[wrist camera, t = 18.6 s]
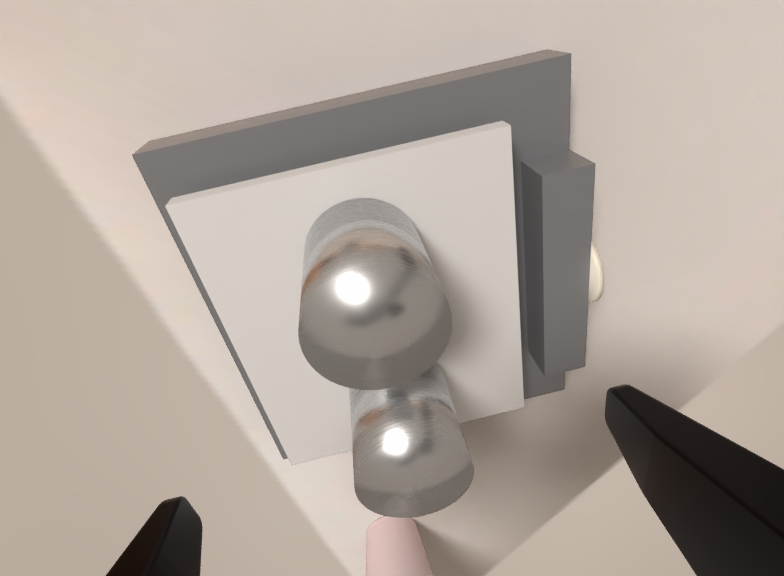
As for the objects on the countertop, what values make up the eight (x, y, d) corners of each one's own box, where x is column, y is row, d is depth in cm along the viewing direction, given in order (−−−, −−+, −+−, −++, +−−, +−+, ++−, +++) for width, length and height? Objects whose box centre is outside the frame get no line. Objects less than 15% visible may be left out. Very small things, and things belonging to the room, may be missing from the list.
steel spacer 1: (409, 184, 16) (440, 246, 12) (428, 288, 18) (460, 370, 14) (287, 214, 16) (276, 287, 12) (323, 313, 18) (323, 404, 14)
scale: (556, 47, 18) (623, 56, 14) (555, 364, 27) (595, 423, 23) (149, 141, 18) (103, 177, 14) (285, 431, 27) (280, 502, 23)
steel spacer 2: (450, 347, 20) (483, 436, 16) (437, 419, 22) (463, 513, 18) (350, 349, 20) (356, 442, 15) (347, 422, 22) (352, 521, 17)
